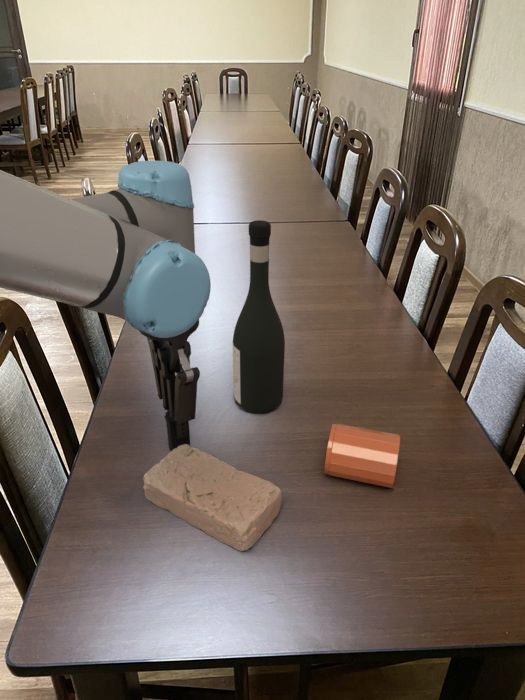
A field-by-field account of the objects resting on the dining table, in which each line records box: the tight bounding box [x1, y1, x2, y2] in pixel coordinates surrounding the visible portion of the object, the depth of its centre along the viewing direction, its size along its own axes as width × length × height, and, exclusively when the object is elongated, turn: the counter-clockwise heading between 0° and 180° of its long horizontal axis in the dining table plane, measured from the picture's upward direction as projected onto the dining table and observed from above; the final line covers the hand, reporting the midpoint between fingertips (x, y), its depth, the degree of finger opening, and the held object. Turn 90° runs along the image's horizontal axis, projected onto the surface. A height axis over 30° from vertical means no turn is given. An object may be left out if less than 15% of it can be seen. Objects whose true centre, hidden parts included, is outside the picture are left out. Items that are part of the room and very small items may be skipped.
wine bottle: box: [232, 219, 286, 414], centre depth 81 cm, size 8×8×30 cm
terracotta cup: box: [323, 422, 401, 489], centre depth 72 cm, size 7×7×9 cm
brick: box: [142, 444, 283, 552], centre depth 68 cm, size 17×8×5 cm, turn 57°
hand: (179, 449), depth 76 cm, fingers closed
